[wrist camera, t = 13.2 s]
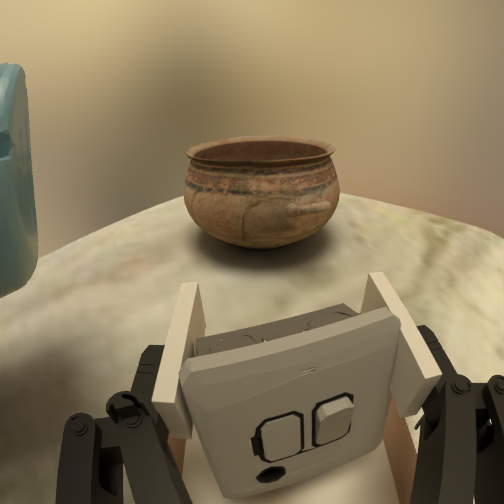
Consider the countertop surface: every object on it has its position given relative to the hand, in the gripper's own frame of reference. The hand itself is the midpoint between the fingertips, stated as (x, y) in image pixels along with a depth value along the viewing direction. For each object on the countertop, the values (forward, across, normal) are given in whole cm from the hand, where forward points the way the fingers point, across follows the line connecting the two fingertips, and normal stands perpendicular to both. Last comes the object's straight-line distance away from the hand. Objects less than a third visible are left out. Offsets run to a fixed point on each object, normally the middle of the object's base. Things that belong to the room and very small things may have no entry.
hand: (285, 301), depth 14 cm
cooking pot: (+24, 0, -9) cm, 26 cm away
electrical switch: (-5, 0, -6) cm, 8 cm away
